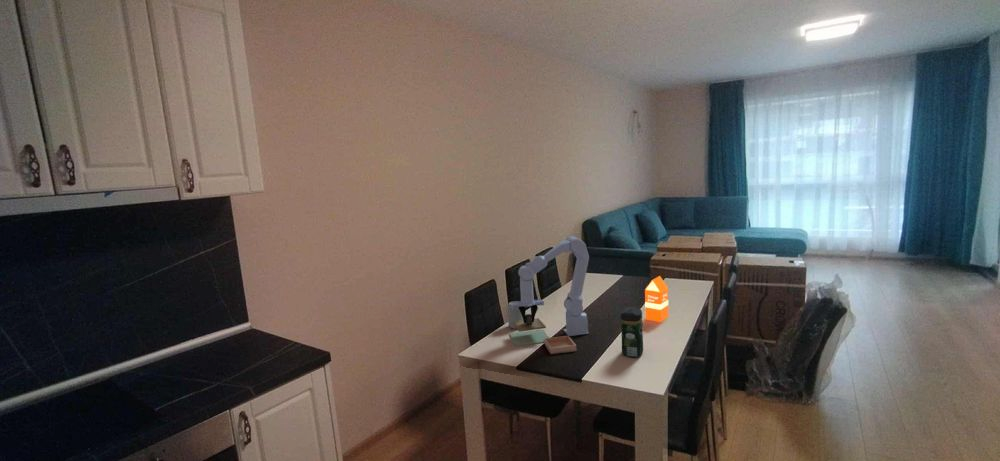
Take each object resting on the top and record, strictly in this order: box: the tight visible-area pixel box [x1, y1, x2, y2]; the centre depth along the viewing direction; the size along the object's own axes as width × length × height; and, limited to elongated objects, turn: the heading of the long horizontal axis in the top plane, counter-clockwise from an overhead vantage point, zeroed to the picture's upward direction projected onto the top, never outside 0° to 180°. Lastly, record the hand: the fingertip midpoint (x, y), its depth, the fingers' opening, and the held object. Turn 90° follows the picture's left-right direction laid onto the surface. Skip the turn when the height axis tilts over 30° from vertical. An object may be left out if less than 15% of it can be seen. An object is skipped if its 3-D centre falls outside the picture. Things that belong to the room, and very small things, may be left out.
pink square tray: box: [543, 335, 577, 355], centre depth 190 cm, size 11×11×2 cm
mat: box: [509, 328, 550, 347], centre depth 202 cm, size 16×14×1 cm
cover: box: [513, 313, 547, 332], centre depth 201 cm, size 12×12×5 cm
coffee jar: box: [620, 306, 644, 358], centre depth 179 cm, size 10×8×19 cm
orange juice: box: [644, 275, 669, 323], centre depth 215 cm, size 8×9×20 cm
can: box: [507, 300, 523, 330], centre depth 217 cm, size 8×8×12 cm
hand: (528, 321), depth 201 cm, fingers closed on cover, 3 cm apart
